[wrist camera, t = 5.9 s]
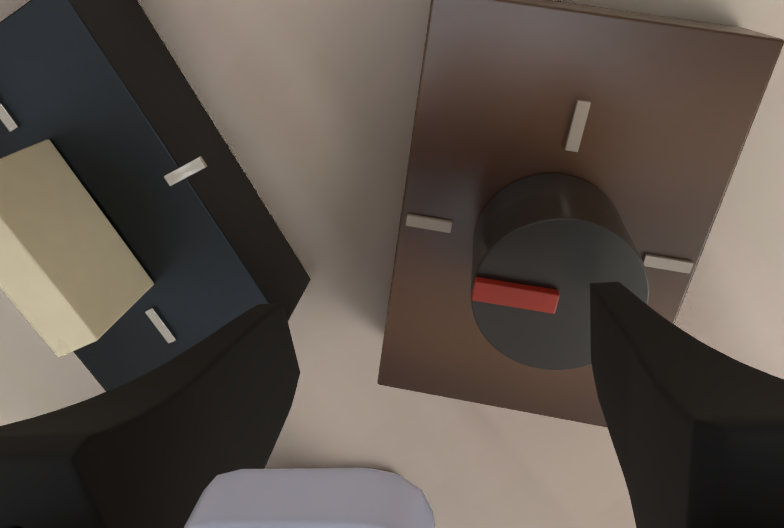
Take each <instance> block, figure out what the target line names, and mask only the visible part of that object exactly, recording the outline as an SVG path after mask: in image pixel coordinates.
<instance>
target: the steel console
mask: <svg viewBox="0 0 784 528" xmlns="http://www.w3.org/2000/svg"><path fill="white" fill-rule="evenodd" d="M46 139H49V140H50V141H51V142H52V144H53V145H54V146H55V148H56V149H57V151H58V152H59V153H60V155H61V156H62V157H63V159H64V160H65V162H66V163H67V164H68V166H69V167H70V168H71V170H72V171H73V173H74V174H75V175H76V177H77V178H78V179H79V181H80V182H81V184H82V185H83V186H84V188H85V189H86V190H87V192H88V193H89V195H90V196H91V197H92V199H93V200H94V201H95V203H96V204H97V206H98V207H99V208H100V210H101V211H102V212H103V214H104V215H105V217H106V218H107V219H108V221H109V222H110V223H111V225H112V226H113V228H114V229H115V230H116V232H117V233H118V234H119V236H120V237H121V238H122V240H123V241H124V243H125V244H126V245H127V247H128V248H129V249H130V251H131V252H132V254H133V255H134V256H135V258H136V259H137V260H138V262H139V263H140V265H141V266H142V267H143V269H144V270H145V271H146V273H147V274H148V276H149V277H150V278H151V280H152V281H153V282H154V285H153V286H152V287H151V288H150V289H149V290H148V291H147V292H146V293H145V294H144V295H143V296H142V297H141V298H140V299H139V300H138V301H137V302H136V303H135V304H134V305H133V306H132V307H131V308H130V309H129V310H128V311H127V312H126V313H125V314H124V315H123V316H122V317H121V318H119V319H118V320H117V321H116V322H115V323H114V324H113V325H112V326H111V327H110V328H109V329H108V330H107V331H106V332H105V333H104V334H103V335H102V336H101V337H100V338H99V339H98V340H97V341H95V342H93V343H91V344H88V345H86V346H84V347H82V348H79V349H77V350H75V351H73V352H74V353H75V354H76V355H77V357H78V358H79V359H80V360H81V361H82V363H83V364H84V365H85V366H86V368H87V369H88V370H89V371H90V372H91V374H92V375H93V376H94V377H95V379H96V380H97V381H98V382H99V383H100V385H101V386H102V387H103V388H104V390H105V391H106V392H107V391H109V390H112V389H114V388H116V387H119V386H121V385H123V384H126V383H128V382H130V381H132V380H134V379H136V378H138V377H140V376H142V375H144V374H146V373H148V372H150V371H152V370H154V369H156V368H157V367H159V366H161V365H163V364H165V363H166V362H168V361H170V360H171V359H173V358H175V357H176V356H178V355H179V354H181V353H183V352H184V351H186V350H188V349H189V348H191V347H192V346H194V345H196V344H197V343H199V342H200V341H202V340H203V339H205V338H206V337H208V336H209V335H211V334H212V333H214V332H215V331H217V330H218V329H220V328H221V327H223V326H224V325H226V324H227V323H229V322H230V321H232V320H233V319H235V318H236V317H238V316H239V315H241V314H242V313H244V312H246V311H247V310H249V309H251V308H253V307H254V306H256V305H259V304H269V303H283V305H284V310H285V314H286V318H287V322H288V320H289V318H290V316H291V314H292V313H293V311H294V309H295V307H296V305H297V303H298V302H299V300H300V298H301V296H302V294H303V292H304V291H305V289H306V287H307V285H308V283H309V281H310V278H309V276H308V275H307V273H306V271H305V270H304V268H303V267H302V265H301V263H300V262H299V260H298V259H297V257H296V255H295V254H294V252H293V251H292V249H291V247H290V246H289V244H288V243H287V241H286V239H285V238H284V236H283V235H282V233H281V231H280V230H279V228H278V227H277V225H276V223H275V222H274V220H273V219H272V217H271V215H270V214H269V212H268V211H267V209H266V207H265V206H264V204H263V203H262V201H261V199H260V198H259V196H258V195H257V193H256V191H255V190H254V188H253V186H252V185H251V183H250V182H249V180H248V178H247V177H246V175H245V174H244V172H243V170H242V169H241V167H240V166H239V164H238V162H237V161H236V159H235V158H234V156H233V154H232V153H231V151H230V150H229V148H228V146H227V145H226V143H225V142H224V140H223V138H222V137H221V135H220V134H219V132H218V130H217V129H216V127H215V126H214V124H213V122H212V121H211V119H210V118H209V116H208V114H207V113H206V111H205V110H204V108H203V106H202V105H201V103H200V101H199V100H198V98H197V97H196V95H195V93H194V92H193V90H192V89H191V87H190V85H189V84H188V82H187V81H186V79H185V77H184V76H183V74H182V73H181V71H180V69H179V68H178V66H177V65H176V63H175V61H174V60H173V58H172V57H171V55H170V53H169V52H168V50H167V49H166V47H165V45H164V44H163V42H162V41H161V39H160V37H159V36H158V34H157V33H156V31H155V29H154V28H153V26H152V25H151V23H150V21H149V20H148V18H147V17H146V15H145V13H144V12H143V10H142V8H141V7H140V5H139V4H138V2H137V0H30V1H29V2H27V3H26V4H25V5H23V6H22V7H20V8H19V9H18V10H16V11H15V12H13V13H12V14H11V15H9V16H8V17H7V18H5V19H4V20H2V21H1V22H0V159H1V158H3V157H5V156H8V155H10V154H13V153H15V152H17V151H20V150H22V149H25V148H27V147H29V146H32V145H34V144H37V143H39V142H41V141H44V140H46Z"/></svg>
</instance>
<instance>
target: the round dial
mask: <svg viewBox="0 0 784 528" xmlns="http://www.w3.org/2000/svg"><path fill="white" fill-rule="evenodd" d="M604 282H620V283H621V284H622V285H624V286H625V287H626V288H627V289H629V290H630V291H631V292H632V293H633V294H635V295H636V296H637V297H638V298H639V299H641V300H642V301H643V302H644V303H646V304H647V305H648V303H649V294H650V290H649V280H648V275H647V271H646V269H645V266H644V264H643V261H642V259H641V257H640V255H639V253H638V251H637V249H636V247H635V245H634V243H633V241H632V239H631V237H630V235H629V234H628V232H627V230H626V228H625V226H624V224H623V222H622V220H621V218H620V216H619V214H618V212H617V210H616V208H615V207H614V205H613V203H612V202H611V201H610V199H609V198H608V197H607V196H606V195H605V194H604V193H603V192H602V191H601V190H600V189H598V188H597V187H595V186H594V185H592V184H591V183H589V182H587V181H585V180H583V179H580V178H577V177H574V176H570V175H565V174H554V173H552V174H539V175H533V176H530V177H526V178H523V179H520V180H518V181H516V182H514V183H512V184H510V185H508V186H507V187H505V188H504V189H502V190H501V191H500V192H498V193H497V194H496V195H495V196H494V197H493V198H492V199H491V200H490V201H489V203H488V204H487V205H486V206H485V208H484V209H483V211H482V213H481V215H480V217H479V219H478V221H477V224H476V228H475V231H474V239H473V257H472V276H471V307H472V312H473V316H474V319H475V321H476V324H477V326H478V328H479V329H480V331H481V333H482V334H483V336H484V337H485V338H486V340H487V341H488V342H489V343H490V344H491V345H492V346H493V347H494V348H495V349H497V350H498V351H499V352H500V353H502V354H503V355H505V356H506V357H508V358H510V359H512V360H514V361H516V362H518V363H520V364H523V365H526V366H529V367H534V368H538V369H545V370H569V369H575V368H580V367H585V366H588V365H591V333H590V283H604Z"/></svg>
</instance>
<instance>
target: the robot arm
mask: <svg viewBox="0 0 784 528" xmlns="http://www.w3.org/2000/svg"><path fill="white" fill-rule="evenodd" d="M590 333H591V364H592V370H593V375H594V381H595V386H596V391H597V396H598V400H599V403H600V406H601V409H602V412H603V415H604V418H605V421H606V424H607V427H608V430H609V433H610V436H611V439H612V442H613V445H614V448H615V451H616V454H617V456H618V459H619V462H620V465H621V468H622V471H623V474H624V477H625V481H626V484H627V488H628V491H629V495H630V499H631V504H632V508H633V513H634V518H635V522H636V527H637V528H784V379H781V378H778V377H775V376H772V375H770V374H768V373H765V372H763V371H760V370H758V369H755V368H753V367H750V366H748V365H746V364H743V363H741V362H739V361H737V360H735V359H732V358H730V357H729V356H727V355H725V354H723V353H721V352H719V351H717V350H715V349H713V348H711V347H709V346H707V345H706V344H704V343H702V342H700V341H699V340H697V339H695V338H694V337H692V336H691V335H689V334H688V333H686V332H684V331H683V330H681V329H680V328H678V327H677V326H675V325H674V324H672V323H671V322H670V321H668V320H667V319H665V318H664V317H663V316H661V315H660V314H659V313H657V312H656V311H655V310H653V309H652V308H651V307H649V306H648V305H647V304H646V303H644V302H643V301H642V300H641V299H639V298H638V297H637V296H636V295H635V294H633V293H632V292H631V291H630V290H629V289H627V288H626V287H625V286H624V285H622V284H621V283H620V282H604V283H590ZM299 375H300V370H299V366H298V362H297V358H296V354H295V350H294V346H293V342H292V338H291V334H290V330H289V326H288V322H287V318H286V314H285V310H284V305H283V303H269V304H259V305H256V306H254V307H253V308H251V309H249V310H247V311H246V312H244V313H242V314H241V315H239V316H238V317H236V318H235V319H233V320H232V321H230V322H229V323H227V324H226V325H224V326H223V327H221V328H220V329H218V330H217V331H215V332H214V333H212V334H211V335H209V336H208V337H206V338H205V339H203V340H202V341H200V342H199V343H197V344H196V345H194V346H192V347H191V348H189V349H188V350H186V351H184V352H183V353H181V354H179V355H178V356H176V357H175V358H173V359H171V360H170V361H168V362H166V363H165V364H163V365H161V366H159V367H157V368H156V369H154V370H152V371H150V372H148V373H146V374H144V375H142V376H140V377H138V378H136V379H134V380H132V381H130V382H128V383H126V384H123V385H121V386H119V387H116V388H114V389H112V390H109V391H107V392H104V393H102V394H100V395H97V396H95V397H93V398H90V399H88V400H85V401H82V402H80V403H77V404H74V405H71V406H68V407H66V408H62V409H59V410H56V411H53V412H50V413H47V414H44V415H40V416H37V417H34V418H30V419H26V420H22V421H19V422H15V423H11V424H7V425H3V426H0V528H435V521H434V515H433V511H432V509H431V507H430V505H429V503H428V501H427V499H426V498H425V496H424V494H423V492H422V490H421V489H419V488H418V487H416V486H415V485H413V484H412V483H410V482H409V481H407V480H406V479H404V478H403V477H401V476H400V475H398V474H397V473H392V472H387V471H382V470H377V469H371V468H288V469H264V468H265V466H266V464H267V462H268V459H269V457H270V455H271V452H272V450H273V448H274V446H275V443H276V441H277V439H278V437H279V434H280V432H281V430H282V427H283V425H284V423H285V420H286V418H287V416H288V413H289V411H290V408H291V406H292V402H293V398H294V395H295V391H296V387H297V383H298V379H299Z"/></svg>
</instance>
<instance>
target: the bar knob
mask: <svg viewBox="0 0 784 528" xmlns="http://www.w3.org/2000/svg"><path fill="white" fill-rule="evenodd" d="M153 285H154V282H153V281H152V280H151V278H150V277H149V276H148V274H147V273H146V271H145V270H144V269H143V267H142V266H141V265H140V263H139V262H138V260H137V259H136V258H135V256H134V255H133V254H132V252H131V251H130V249H129V248H128V247H127V245H126V244H125V243H124V241H123V240H122V238H121V237H120V236H119V234H118V233H117V232H116V230H115V229H114V228H113V226H112V225H111V223H110V222H109V221H108V219H107V218H106V217H105V215H104V214H103V212H102V211H101V210H100V208H99V207H98V206H97V204H96V203H95V201H94V200H93V199H92V197H91V196H90V195H89V193H88V192H87V190H86V189H85V188H84V186H83V185H82V184H81V182H80V181H79V179H78V178H77V177H76V175H75V174H74V173H73V171H72V170H71V168H70V167H69V166H68V164H67V163H66V162H65V160H64V159H63V157H62V156H61V155H60V153H59V152H58V151H57V149H56V148H55V146H54V145H53V144H52V142H51V141H50V140H49V139H46V140H44V141H41V142H39V143H37V144H34V145H32V146H29V147H27V148H25V149H22V150H20V151H17V152H15V153H13V154H10V155H8V156H5V157H3V158H1V159H0V288H1V289H2V291H3V292H4V293H5V294H6V295H7V297H8V298H9V299H10V300H11V301H12V303H13V304H14V305H15V306H16V307H17V309H18V310H19V311H20V312H21V313H22V315H23V316H24V317H25V318H26V319H27V321H28V322H29V323H30V324H31V325H32V327H33V328H34V329H35V330H36V331H37V333H38V334H39V335H40V336H41V337H42V339H43V340H44V341H45V342H46V343H47V345H48V346H49V347H50V348H51V349H52V351H53V352H54V353H55V354H56V355H57V357H62V356H64V355H66V354H68V353H71V352H73V351H75V350H77V349H79V348H82V347H84V346H86V345H88V344H91V343H93V342H95V341H97V340H98V339H99V338H100V337H101V336H102V335H103V334H104V333H105V332H106V331H107V330H108V329H109V328H110V327H111V326H112V325H113V324H114V323H115V322H116V321H117V320H118V319H119V318H121V317H122V316H123V315H124V314H125V313H126V312H127V311H128V310H129V309H130V308H131V307H132V306H133V305H134V304H135V303H136V302H137V301H138V300H139V299H140V298H141V297H142V296H143V295H144V294H145V293H146V292H147V291H148V290H149V289H150V288H151V287H152V286H153Z"/></svg>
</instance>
